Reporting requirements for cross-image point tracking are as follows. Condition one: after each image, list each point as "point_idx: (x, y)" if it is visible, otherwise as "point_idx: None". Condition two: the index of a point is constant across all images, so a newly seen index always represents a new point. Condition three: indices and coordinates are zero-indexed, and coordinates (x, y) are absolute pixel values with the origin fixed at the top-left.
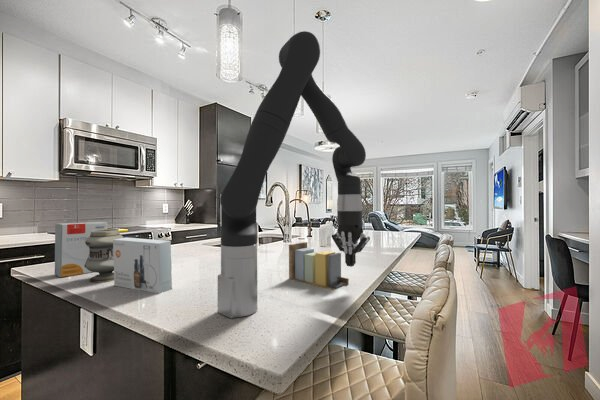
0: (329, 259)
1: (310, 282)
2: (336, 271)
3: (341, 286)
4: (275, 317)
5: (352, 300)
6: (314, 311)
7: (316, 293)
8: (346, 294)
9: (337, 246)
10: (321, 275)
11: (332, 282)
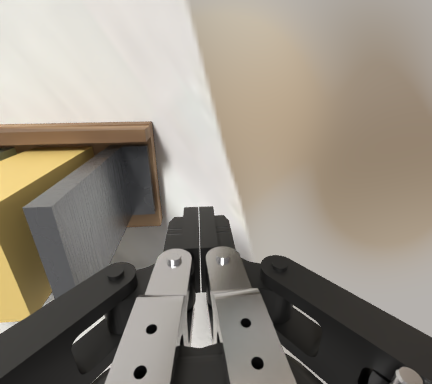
0: None
1: None
2: (111, 203)
3: (152, 174)
4: None
5: (241, 222)
6: None
7: (119, 248)
8: (196, 192)
9: (82, 350)
10: None
11: (128, 211)
